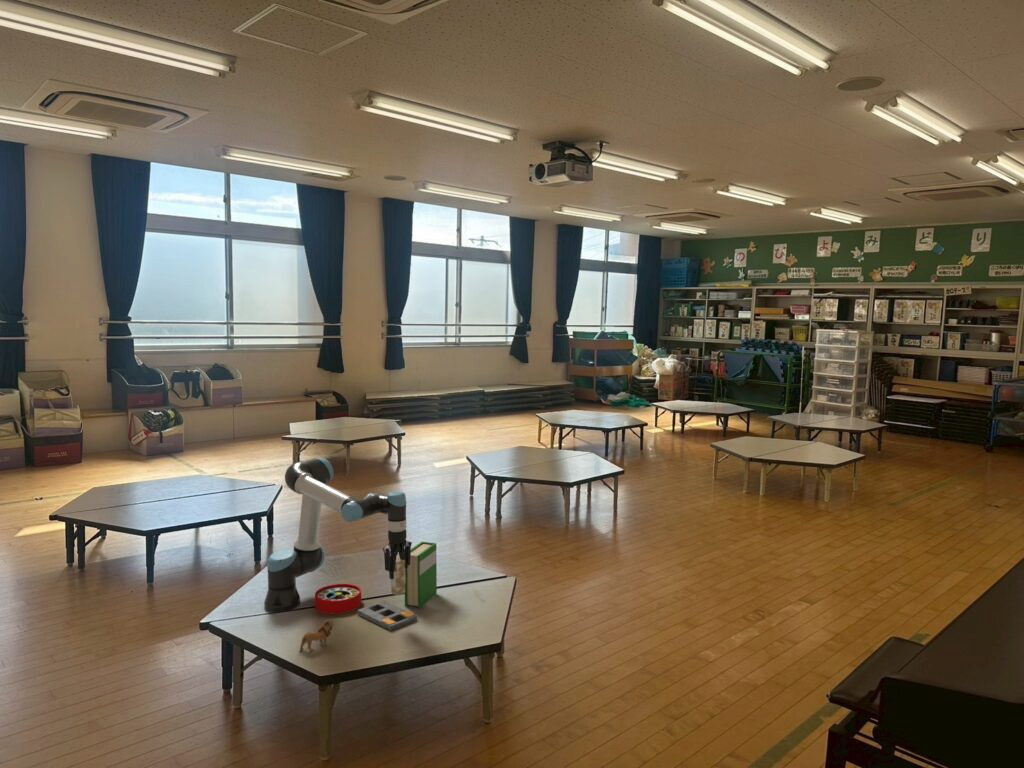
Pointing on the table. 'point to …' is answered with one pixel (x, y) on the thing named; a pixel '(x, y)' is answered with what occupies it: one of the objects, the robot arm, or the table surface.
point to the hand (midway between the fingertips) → (398, 584)
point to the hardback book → (421, 575)
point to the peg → (399, 577)
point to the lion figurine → (317, 635)
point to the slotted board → (389, 620)
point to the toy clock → (338, 598)
